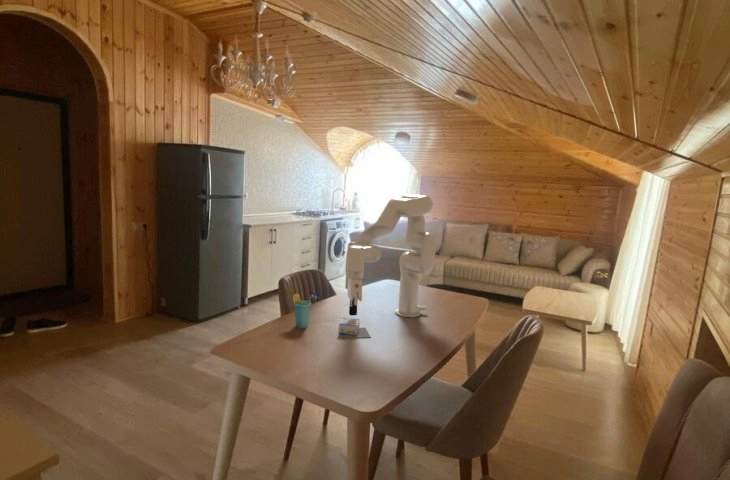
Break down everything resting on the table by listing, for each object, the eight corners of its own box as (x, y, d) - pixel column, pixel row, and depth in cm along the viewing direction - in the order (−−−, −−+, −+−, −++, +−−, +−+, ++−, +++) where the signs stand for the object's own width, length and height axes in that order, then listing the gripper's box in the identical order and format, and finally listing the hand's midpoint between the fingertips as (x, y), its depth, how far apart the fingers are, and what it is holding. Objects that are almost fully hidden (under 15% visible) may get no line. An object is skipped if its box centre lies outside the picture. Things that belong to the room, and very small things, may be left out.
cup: (321, 326, 175) (323, 294, 173) (312, 332, 168) (313, 298, 166) (295, 320, 180) (296, 289, 178) (285, 326, 173) (286, 293, 171)
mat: (365, 328, 176) (365, 327, 176) (370, 337, 165) (370, 337, 165) (338, 329, 173) (338, 328, 173) (342, 338, 162) (342, 338, 162)
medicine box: (359, 318, 174) (357, 325, 165) (359, 328, 174) (356, 335, 166) (342, 317, 174) (338, 323, 166) (341, 327, 175) (338, 334, 166)
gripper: (367, 278, 164) (364, 320, 167) (359, 270, 178) (358, 309, 181) (349, 278, 162) (347, 320, 165) (343, 270, 177) (341, 309, 179)
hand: (352, 314), depth 173 cm, fingers closed
